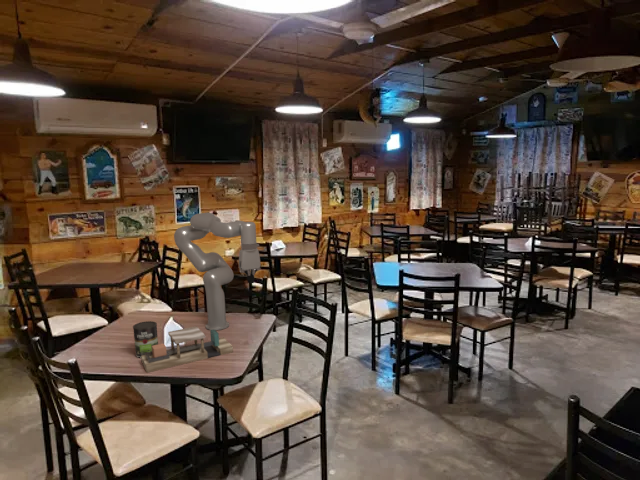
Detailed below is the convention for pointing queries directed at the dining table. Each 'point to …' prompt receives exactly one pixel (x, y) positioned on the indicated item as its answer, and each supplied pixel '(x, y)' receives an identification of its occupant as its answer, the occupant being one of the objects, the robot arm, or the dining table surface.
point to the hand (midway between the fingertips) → (250, 282)
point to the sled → (186, 348)
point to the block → (159, 350)
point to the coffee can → (145, 337)
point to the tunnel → (190, 355)
